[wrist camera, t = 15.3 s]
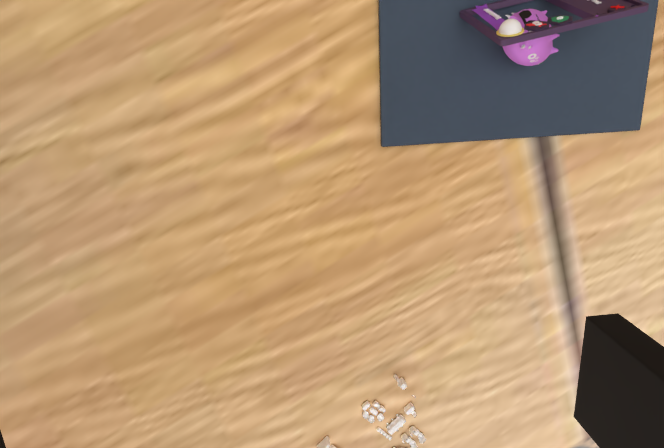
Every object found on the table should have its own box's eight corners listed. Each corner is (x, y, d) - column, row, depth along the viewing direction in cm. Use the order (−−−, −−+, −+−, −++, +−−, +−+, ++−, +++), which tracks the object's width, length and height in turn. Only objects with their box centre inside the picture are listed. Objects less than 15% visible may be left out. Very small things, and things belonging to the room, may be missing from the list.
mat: (381, 146, 37) (382, 147, 36) (377, -86, 32) (378, -88, 32) (636, 129, 38) (640, 130, 38) (667, -94, 33) (672, -96, 33)
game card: (654, -10, 28) (501, 27, 28) (635, 77, 31) (498, 111, 31) (586, -32, 33) (458, -1, 33) (576, 44, 37) (459, 73, 36)
